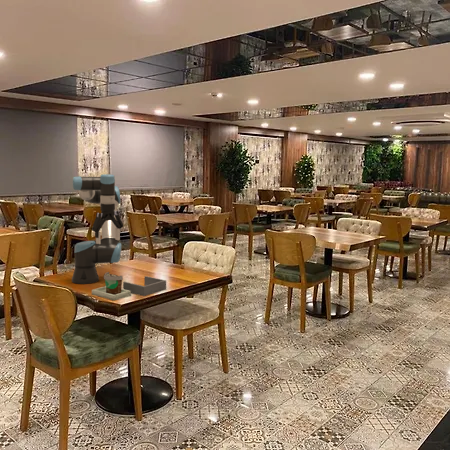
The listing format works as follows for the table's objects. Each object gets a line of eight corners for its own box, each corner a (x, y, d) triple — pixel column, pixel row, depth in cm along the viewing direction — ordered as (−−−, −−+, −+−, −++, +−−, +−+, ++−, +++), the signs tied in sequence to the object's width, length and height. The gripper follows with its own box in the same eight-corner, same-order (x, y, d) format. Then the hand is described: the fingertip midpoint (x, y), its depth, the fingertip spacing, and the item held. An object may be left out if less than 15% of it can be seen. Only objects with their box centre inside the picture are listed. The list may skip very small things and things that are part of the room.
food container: (98, 292, 233) (98, 273, 231) (108, 289, 238) (108, 271, 236) (113, 296, 225) (113, 277, 224) (123, 294, 230) (122, 275, 229)
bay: (123, 290, 240) (123, 282, 239) (145, 284, 254) (145, 276, 253) (143, 296, 231) (143, 286, 230) (166, 289, 245) (166, 280, 245)
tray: (91, 294, 232) (91, 289, 231) (108, 289, 241) (108, 285, 241) (114, 300, 222) (114, 295, 222) (130, 295, 231) (130, 291, 231)
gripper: (93, 205, 223) (94, 246, 227) (129, 202, 244) (129, 239, 247) (84, 204, 228) (84, 244, 231) (120, 200, 248) (120, 237, 252)
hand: (108, 241), depth 239 cm, fingers open, 13 cm apart
